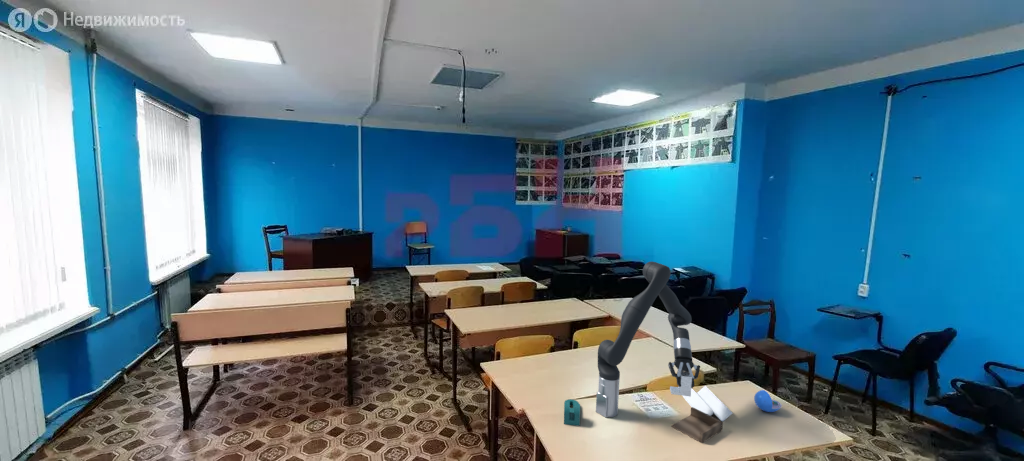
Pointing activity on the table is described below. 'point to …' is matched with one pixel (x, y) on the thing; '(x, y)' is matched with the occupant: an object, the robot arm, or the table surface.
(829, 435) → the table surface
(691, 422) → the walnut corner tray
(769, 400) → the blue rounded hollow shell
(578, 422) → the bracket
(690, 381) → the aluminium bracket
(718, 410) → the z bracket
